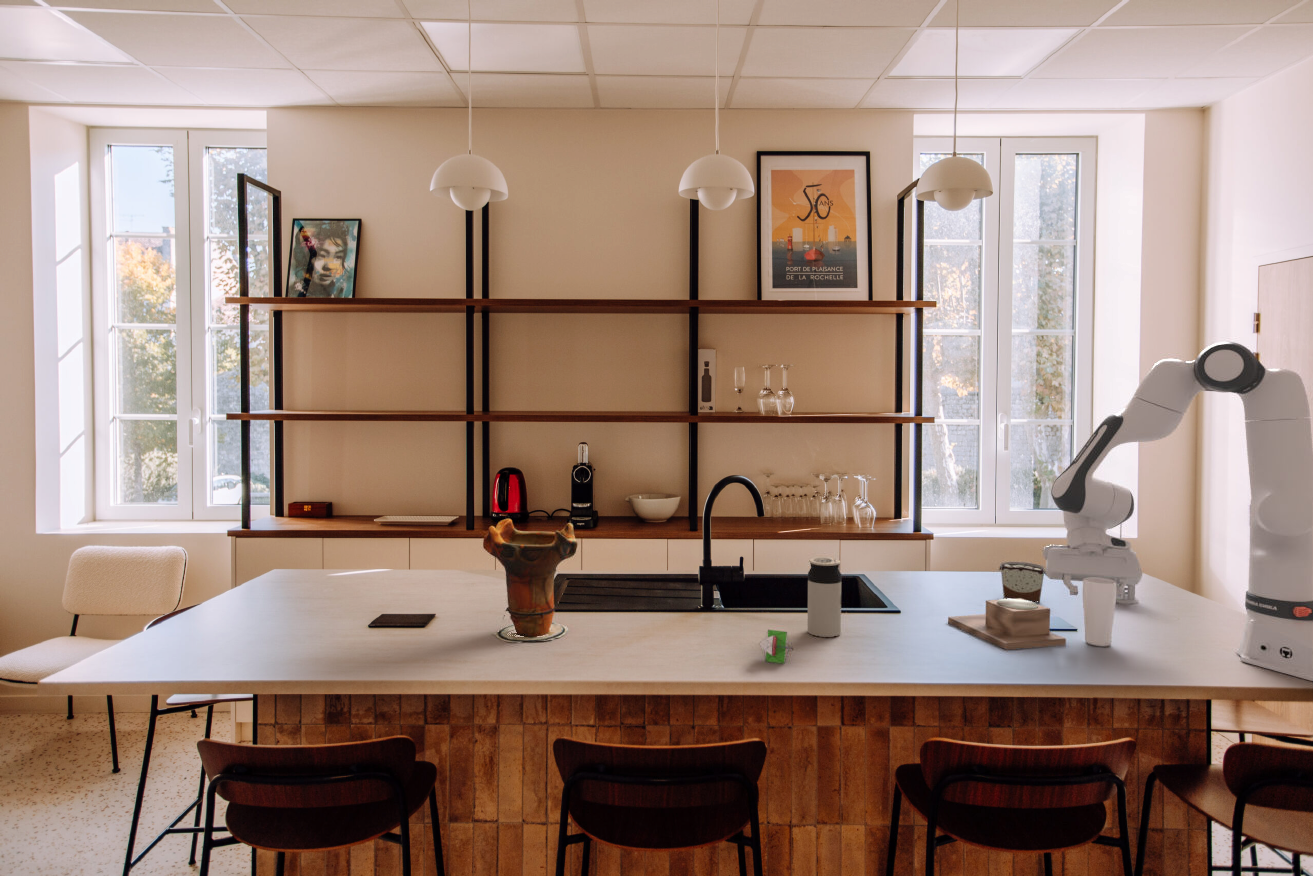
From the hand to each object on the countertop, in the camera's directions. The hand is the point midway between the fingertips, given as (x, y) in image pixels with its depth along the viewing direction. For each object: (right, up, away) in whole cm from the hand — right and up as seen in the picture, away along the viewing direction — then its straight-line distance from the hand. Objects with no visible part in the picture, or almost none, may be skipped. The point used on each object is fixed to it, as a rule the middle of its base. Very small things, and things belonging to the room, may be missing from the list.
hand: (1096, 595), depth 178 cm
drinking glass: (-1, -11, -1) cm, 11 cm away
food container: (+2, -9, +40) cm, 41 cm away
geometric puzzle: (-78, -12, -13) cm, 80 cm away
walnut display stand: (-19, -11, +7) cm, 23 cm away
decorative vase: (-135, -11, +8) cm, 136 cm away
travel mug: (-63, -11, +7) cm, 64 cm away
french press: (+29, -9, +38) cm, 49 cm away
